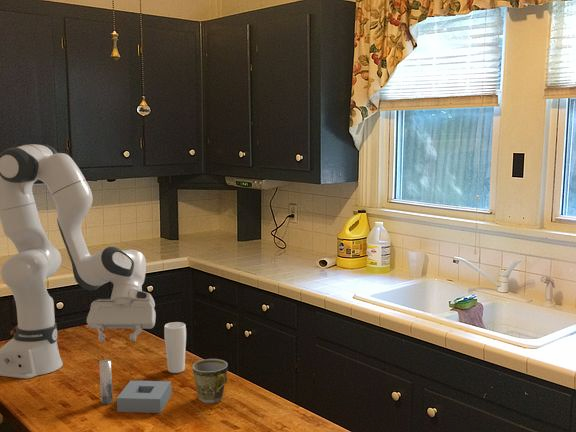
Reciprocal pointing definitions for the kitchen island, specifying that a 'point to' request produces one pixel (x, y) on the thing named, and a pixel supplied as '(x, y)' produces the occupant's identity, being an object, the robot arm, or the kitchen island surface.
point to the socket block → (144, 396)
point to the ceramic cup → (210, 379)
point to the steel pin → (106, 381)
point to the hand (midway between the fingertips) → (116, 340)
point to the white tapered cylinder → (175, 346)
